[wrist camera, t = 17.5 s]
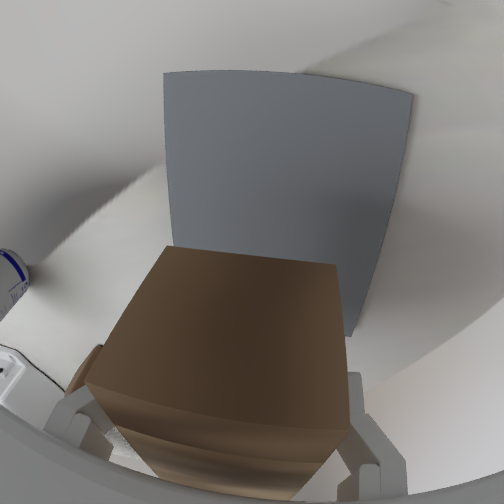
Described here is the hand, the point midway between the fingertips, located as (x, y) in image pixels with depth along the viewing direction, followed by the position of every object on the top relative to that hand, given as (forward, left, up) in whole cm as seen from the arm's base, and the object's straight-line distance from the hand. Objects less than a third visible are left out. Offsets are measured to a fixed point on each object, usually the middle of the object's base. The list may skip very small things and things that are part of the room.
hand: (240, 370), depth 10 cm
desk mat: (0, +1, -9) cm, 9 cm away
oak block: (0, -6, +1) cm, 6 cm away
